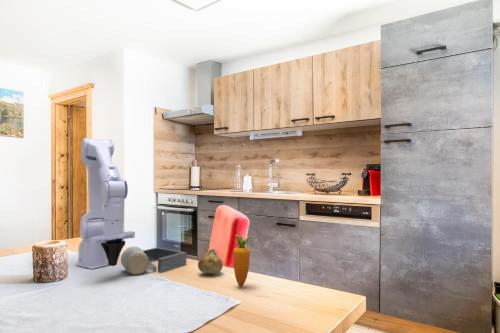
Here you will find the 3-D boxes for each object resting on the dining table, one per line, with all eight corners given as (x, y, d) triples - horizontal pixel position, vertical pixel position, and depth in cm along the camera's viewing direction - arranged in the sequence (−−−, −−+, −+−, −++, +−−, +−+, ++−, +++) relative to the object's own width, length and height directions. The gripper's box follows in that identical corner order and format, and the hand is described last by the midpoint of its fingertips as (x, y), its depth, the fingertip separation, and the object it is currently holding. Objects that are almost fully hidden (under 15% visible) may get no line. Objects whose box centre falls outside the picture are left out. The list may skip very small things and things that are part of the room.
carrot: (251, 285, 97) (252, 233, 97) (246, 291, 92) (247, 236, 93) (235, 283, 99) (236, 232, 99) (229, 289, 94) (230, 235, 94)
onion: (194, 272, 109) (194, 248, 109) (217, 270, 113) (217, 246, 113) (202, 279, 102) (202, 253, 102) (226, 276, 106) (226, 250, 106)
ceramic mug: (126, 277, 103) (127, 252, 103) (119, 270, 110) (121, 247, 110) (159, 273, 109) (160, 249, 109) (152, 267, 115) (153, 244, 116)
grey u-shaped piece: (130, 266, 115) (130, 253, 116) (157, 258, 126) (157, 247, 126) (160, 272, 108) (160, 259, 108) (186, 264, 119) (186, 252, 119)
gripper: (100, 223, 93) (99, 272, 93) (141, 218, 106) (140, 262, 105) (85, 221, 97) (83, 268, 96) (127, 217, 109) (125, 258, 109)
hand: (112, 265), depth 101 cm, fingers closed
